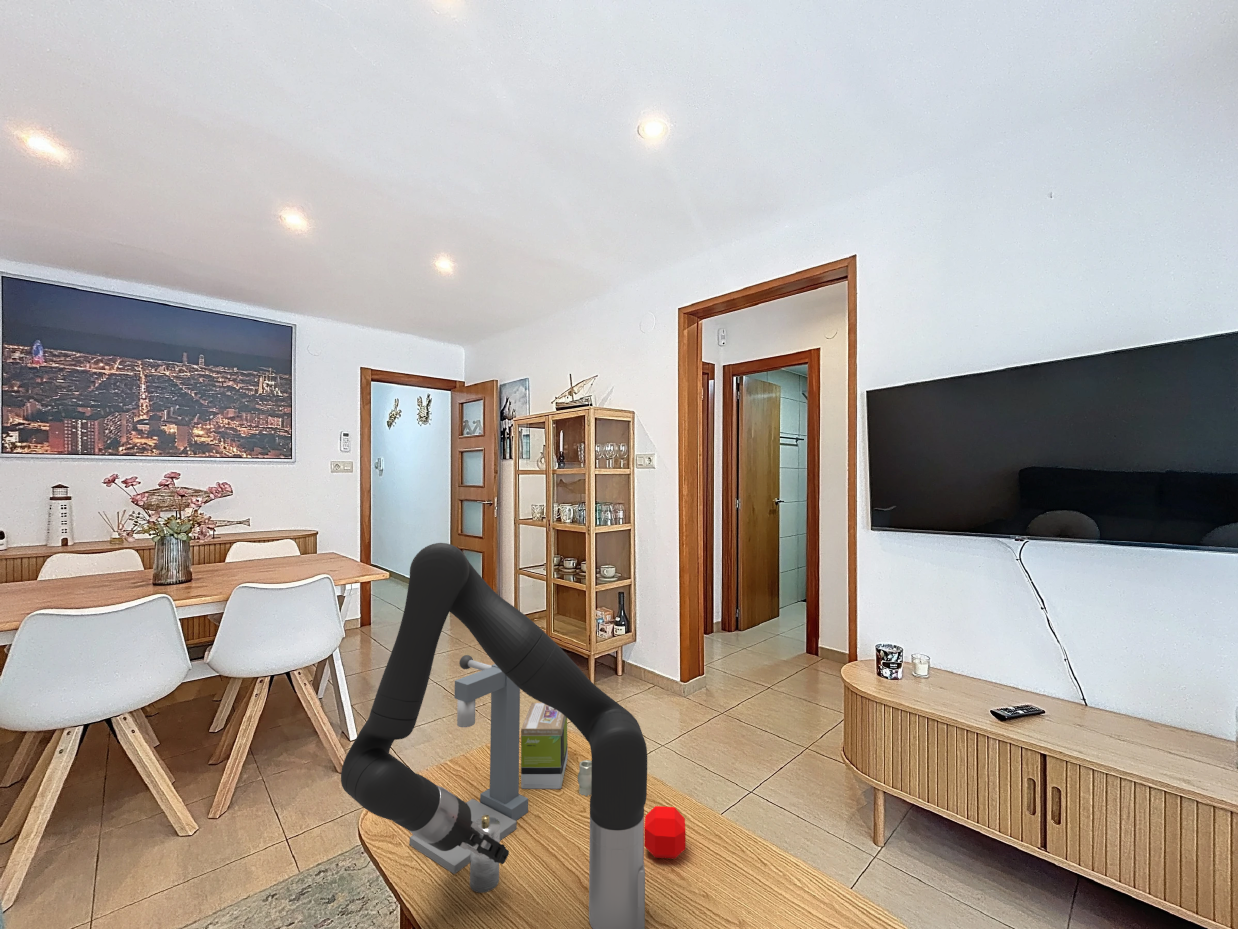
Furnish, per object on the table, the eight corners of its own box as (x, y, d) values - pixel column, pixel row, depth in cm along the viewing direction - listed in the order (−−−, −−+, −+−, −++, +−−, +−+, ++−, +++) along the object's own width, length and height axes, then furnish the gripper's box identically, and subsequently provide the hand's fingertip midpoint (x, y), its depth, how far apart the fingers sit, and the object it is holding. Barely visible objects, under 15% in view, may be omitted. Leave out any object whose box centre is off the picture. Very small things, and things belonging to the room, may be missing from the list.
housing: (501, 871, 100) (502, 808, 101) (495, 892, 95) (496, 826, 95) (473, 871, 100) (474, 808, 100) (466, 892, 95) (467, 826, 95)
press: (454, 874, 99) (457, 700, 100) (386, 829, 112) (389, 675, 113) (534, 815, 117) (536, 668, 118) (468, 782, 129) (470, 649, 131)
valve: (571, 797, 124) (618, 811, 119) (571, 768, 124) (618, 780, 119) (585, 782, 130) (630, 795, 125) (585, 755, 130) (630, 766, 125)
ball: (684, 839, 109) (684, 801, 110) (685, 867, 101) (686, 826, 102) (645, 837, 110) (645, 799, 110) (643, 864, 102) (644, 824, 102)
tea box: (530, 757, 142) (531, 701, 142) (568, 757, 142) (568, 701, 142) (519, 790, 127) (520, 727, 127) (561, 790, 127) (562, 727, 127)
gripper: (479, 807, 88) (527, 840, 97) (425, 779, 96) (474, 812, 105) (451, 859, 83) (505, 888, 92) (398, 825, 91) (452, 855, 100)
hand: (489, 848), depth 98 cm, fingers open, 8 cm apart
